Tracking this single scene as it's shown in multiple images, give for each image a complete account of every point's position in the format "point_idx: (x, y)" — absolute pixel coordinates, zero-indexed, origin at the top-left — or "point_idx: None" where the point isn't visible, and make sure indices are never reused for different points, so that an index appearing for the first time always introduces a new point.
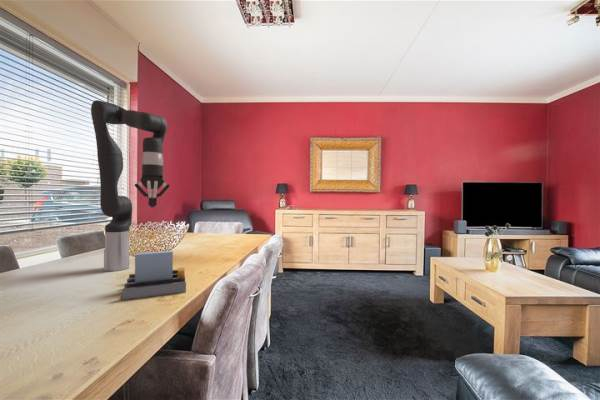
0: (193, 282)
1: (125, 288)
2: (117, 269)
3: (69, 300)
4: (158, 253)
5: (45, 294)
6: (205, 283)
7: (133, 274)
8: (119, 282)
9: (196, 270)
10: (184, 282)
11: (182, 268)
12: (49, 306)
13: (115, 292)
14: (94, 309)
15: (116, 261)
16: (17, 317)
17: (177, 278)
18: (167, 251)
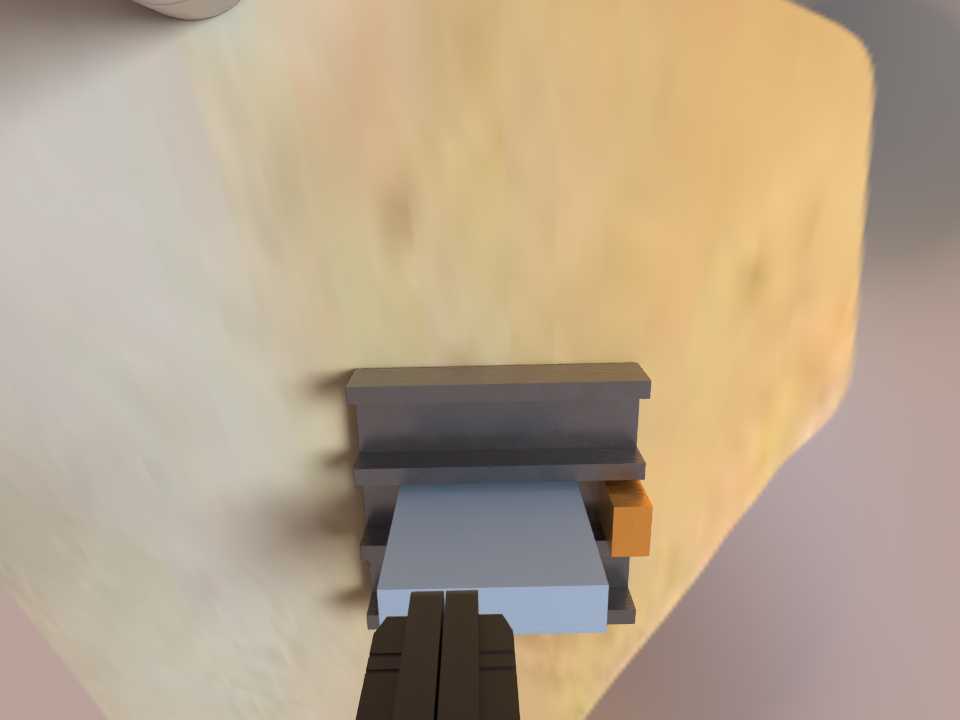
0: (677, 461)
1: (377, 617)
2: (200, 16)
3: (158, 514)
4: (518, 633)
5: (4, 395)
6: (730, 498)
7: (368, 399)
8: (296, 319)
9: (739, 217)
10: (627, 623)
11: (641, 524)
12: (114, 555)
13: (320, 479)
14: (296, 637)
15: (164, 3)
16: (63, 620)
17: (601, 554)
18: (574, 604)
